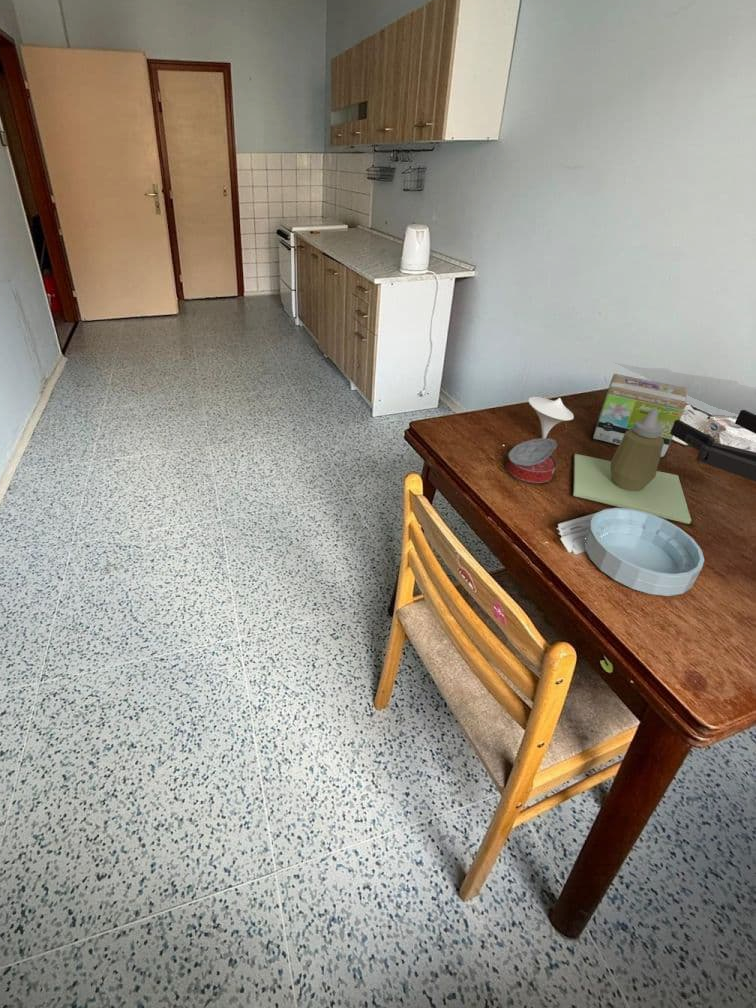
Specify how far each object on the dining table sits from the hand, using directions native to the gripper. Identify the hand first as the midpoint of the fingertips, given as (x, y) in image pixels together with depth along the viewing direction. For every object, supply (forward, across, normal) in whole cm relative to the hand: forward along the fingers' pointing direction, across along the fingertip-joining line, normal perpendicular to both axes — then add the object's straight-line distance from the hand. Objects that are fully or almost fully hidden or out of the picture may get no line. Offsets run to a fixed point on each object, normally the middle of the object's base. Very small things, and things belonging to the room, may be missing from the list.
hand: (707, 421), depth 82 cm
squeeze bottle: (+10, 0, -21) cm, 23 cm away
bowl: (-8, -15, -22) cm, 27 cm away
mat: (+10, 0, -22) cm, 24 cm away
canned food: (+20, -16, -22) cm, 34 cm away
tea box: (+26, +15, -22) cm, 37 cm away
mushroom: (+30, -5, -22) cm, 38 cm away
